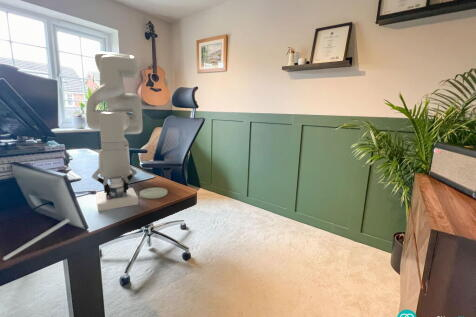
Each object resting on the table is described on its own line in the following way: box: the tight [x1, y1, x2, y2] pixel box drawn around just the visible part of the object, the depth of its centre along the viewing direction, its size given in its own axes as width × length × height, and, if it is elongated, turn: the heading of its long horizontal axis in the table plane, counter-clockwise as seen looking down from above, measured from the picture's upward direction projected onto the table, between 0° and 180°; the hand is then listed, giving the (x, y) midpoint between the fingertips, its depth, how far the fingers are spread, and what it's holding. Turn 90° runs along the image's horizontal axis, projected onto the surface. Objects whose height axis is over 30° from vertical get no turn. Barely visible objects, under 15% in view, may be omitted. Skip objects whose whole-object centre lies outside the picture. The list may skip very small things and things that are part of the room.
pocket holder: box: [96, 187, 139, 212], centre depth 88 cm, size 13×13×2 cm
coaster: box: [139, 187, 168, 200], centre depth 97 cm, size 11×11×1 cm
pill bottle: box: [108, 176, 125, 200], centre depth 87 cm, size 5×5×9 cm
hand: (116, 192), depth 88 cm, fingers closed on pill bottle, 5 cm apart
